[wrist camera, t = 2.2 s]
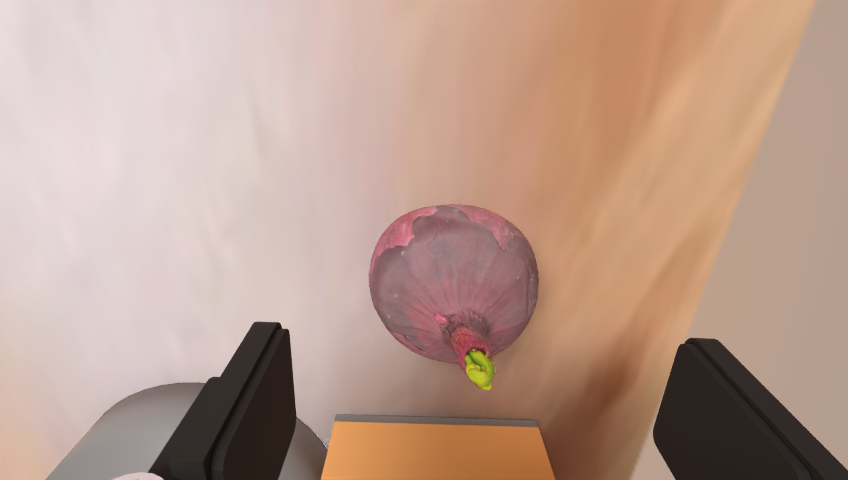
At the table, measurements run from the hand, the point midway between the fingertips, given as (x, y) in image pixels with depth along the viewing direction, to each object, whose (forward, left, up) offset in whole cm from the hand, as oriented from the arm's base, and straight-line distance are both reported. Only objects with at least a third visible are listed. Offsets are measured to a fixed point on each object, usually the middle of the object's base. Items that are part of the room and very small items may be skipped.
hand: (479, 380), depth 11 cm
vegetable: (-1, 0, -10) cm, 10 cm away
